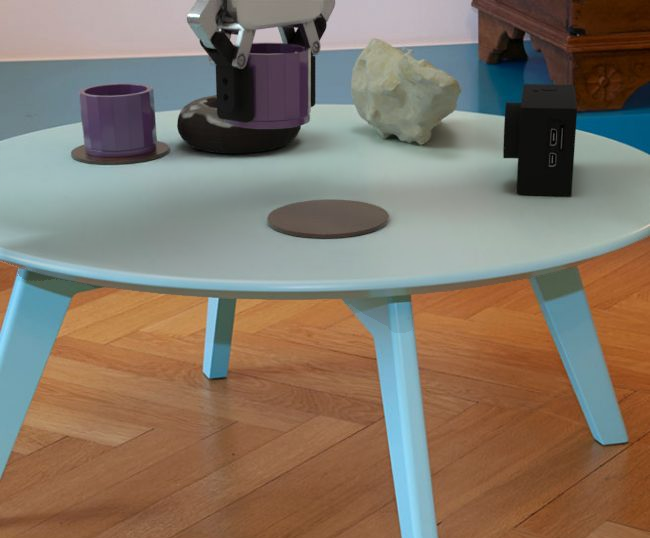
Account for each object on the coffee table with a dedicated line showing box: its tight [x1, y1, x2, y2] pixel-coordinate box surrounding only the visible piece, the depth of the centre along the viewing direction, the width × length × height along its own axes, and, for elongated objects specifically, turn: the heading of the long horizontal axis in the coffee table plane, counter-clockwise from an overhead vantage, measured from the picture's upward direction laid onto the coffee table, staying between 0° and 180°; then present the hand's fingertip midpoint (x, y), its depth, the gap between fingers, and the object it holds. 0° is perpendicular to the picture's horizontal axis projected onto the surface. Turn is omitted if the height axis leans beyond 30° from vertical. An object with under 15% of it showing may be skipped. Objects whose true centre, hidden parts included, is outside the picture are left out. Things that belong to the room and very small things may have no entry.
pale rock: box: [350, 37, 462, 145], centre depth 106 cm, size 18×10×7 cm
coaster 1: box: [70, 140, 170, 165], centre depth 105 cm, size 9×9×1 cm
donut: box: [176, 94, 302, 154], centre depth 107 cm, size 12×12×4 cm
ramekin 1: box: [78, 82, 158, 158], centre depth 104 cm, size 7×7×6 cm
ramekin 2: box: [225, 42, 312, 129], centre depth 87 cm, size 7×7×6 cm
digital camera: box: [502, 83, 578, 197], centre depth 93 cm, size 10×5×7 cm, turn 169°
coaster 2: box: [267, 198, 390, 239], centre depth 84 cm, size 9×9×1 cm
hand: (267, 110), depth 88 cm, fingers closed on ramekin 2, 6 cm apart
